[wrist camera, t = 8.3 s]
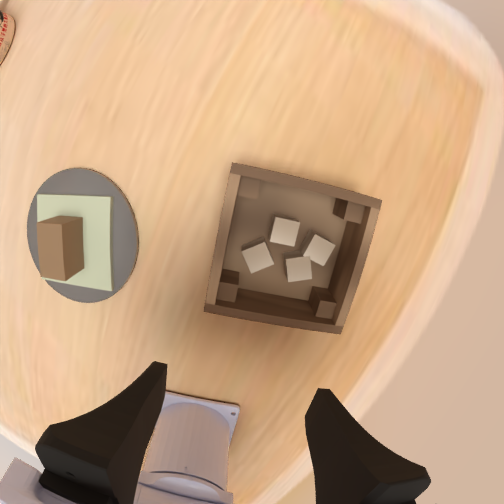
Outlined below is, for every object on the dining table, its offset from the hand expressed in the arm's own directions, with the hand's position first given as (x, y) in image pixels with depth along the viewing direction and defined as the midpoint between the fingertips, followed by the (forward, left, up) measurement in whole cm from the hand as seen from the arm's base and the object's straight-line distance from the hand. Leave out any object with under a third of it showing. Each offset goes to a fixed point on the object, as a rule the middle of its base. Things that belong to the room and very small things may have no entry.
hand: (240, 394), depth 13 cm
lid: (+2, +14, -10) cm, 17 cm away
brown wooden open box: (+5, -2, -10) cm, 12 cm away
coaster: (+2, +14, -10) cm, 18 cm away
